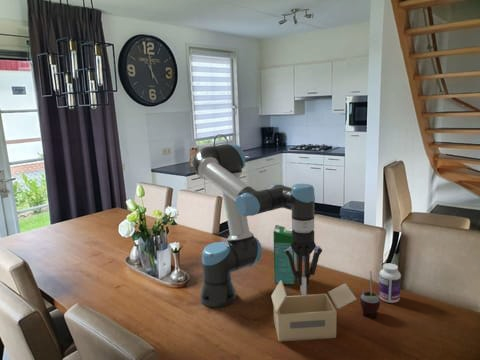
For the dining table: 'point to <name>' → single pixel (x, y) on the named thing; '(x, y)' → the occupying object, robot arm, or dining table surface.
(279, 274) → the milk carton
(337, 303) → the flap right
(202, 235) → the dining table surface
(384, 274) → the pill bottle
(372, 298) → the mate gourd
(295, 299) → the carton
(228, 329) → the dining table surface
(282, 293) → the flap left
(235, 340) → the dining table surface
